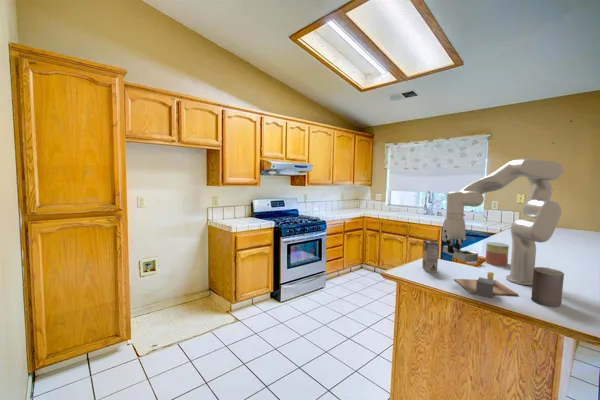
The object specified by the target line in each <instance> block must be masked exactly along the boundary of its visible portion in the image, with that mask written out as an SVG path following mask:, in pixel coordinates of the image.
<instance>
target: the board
mask: <svg viewBox="0 0 600 400" xmlns="http://www.w3.org/2000/svg"><path fill="white" fill-rule="evenodd" d="M477 280H478V279H470V278H469V279H468V278H467V279H466V278H465V279H464V278H454V279H453V281H454V282H455V283H457V285H459V286H461V287H462V288H463V289H464V290H465V291H467V293H469V294H470V295H477V294H476V284H477ZM494 280H495V279H494ZM493 296H509V297H511V296H512V297H519V293H517V292H516V291H514V290H512V289H511V288H509V287H508V286H505V285H504V284H503V283H501V282H499V281H497V280H495V283H494V285H493Z"/></svg>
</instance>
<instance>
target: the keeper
mask: <svg viewBox="0 0 600 400" xmlns="http://www.w3.org/2000/svg"><path fill="white" fill-rule="evenodd" d="M476 280H477V284H476V294H475V295H477V296H482V297H486V298H490V299H492V298H493V296H494V295H493V285H494V283H495V279H493V280H491V279H487V278H485V277H478V279H476Z"/></svg>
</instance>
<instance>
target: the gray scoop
mask: <svg viewBox="0 0 600 400" xmlns="http://www.w3.org/2000/svg"><path fill="white" fill-rule="evenodd" d="M469 251H470V250H462V249H461V248H460V249H457V248H454V246H453V254H451V253H449V252H448V245H443V246H442V253H445V254H447V255H449V256H453V257H454V258H453V259H456V260H459V261H461V262H463V263H466V262H472V261H477V262H478V259H479V258H478V257H479V253H478V254H475V253H472V252H469Z"/></svg>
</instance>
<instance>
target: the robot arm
mask: <svg viewBox="0 0 600 400" xmlns="http://www.w3.org/2000/svg"><path fill="white" fill-rule="evenodd" d="M563 175H564V167H563V165H562V164H561V163H559V162H557V161H551V160H543V159H535V158H519V159H518V158H516V159H512V160H510V161H508V162H506V164H503V165H502V166H501V167H499V168H498V169H496V170H495V171H493V172H492V173H491V174H489V175H487V176H485V177H482V178H480V179H478V180H476V181H473V182H472V183H469V185H466V186H465V187H464V188H462V189H461V190H460V191H449V192H447V194H446V214H445V217H446V218H444V220H443V225H442V233H441V235H442V237H441V241H443V242H445V244H446V246H448V252H449V253H451V254H453V247H454V248H457V249H460V250H461V245H462V243H463V242H464V241H465V240H467V237H466V221H465V219H464V217H465V216H466V213H464V211H465V207H473V208H476V207H480V206H481V205H482V204H483V203H484V200H485V198H484V195H483V194H486V193H489V192H490V193H491V192H495V191H498V190H502V189H504V188H505V187H506V186H508V185H509V184H511V183H512V182H514V181H515V180H517V179H518V178H521V177H522V178H525V177H526V179H527V180H528V182H529V185H530V189H529V191H528V195H527V197H526V199H525V202H524V203H523V207H522V210H521V211H522V214H523V216H525V217H526V219H525V218H522V219H521V218H519V219H516V220H514V221H513V222H512V223H511V226H510V235H511V256H510V257H511V259H510V270H509V272H510V273H509V274H508V275H506V280H507V281H509V282H511V283H513V284H517V285H522V286H527V287H528V286H530V287H531V286H532V283H533V272H534V268H535V267H536V256H537V245H536V242H537V243H546V242H547V241H549V240H550V239H551V238H552V237H553V234H554V232H555V230H556V227H557V226H558V223H559V221H560V220H561V219H560V218H561V216H562V207H561V206H560V204H559V203H558V202H556V201H554V200H551V198H552V195H553V186H552V183H551V182H550V181H556V180H558V179H559V178H561V177H562V176H563ZM527 217H528V218H532V219H535V220H532V219H527ZM453 240H455V241H453ZM453 242H455V244H453Z"/></svg>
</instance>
